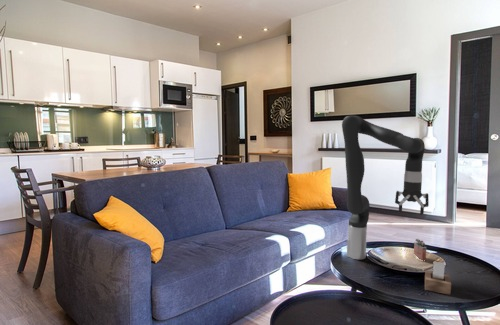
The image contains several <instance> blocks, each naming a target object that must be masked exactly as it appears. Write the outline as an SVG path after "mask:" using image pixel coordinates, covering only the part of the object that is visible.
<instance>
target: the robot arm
mask: <svg viewBox="0 0 500 325" xmlns="http://www.w3.org/2000/svg"><path fill="white" fill-rule="evenodd" d="M341 129H342V133H343V134H342V135H343V136H342V137H343V140H344V154H345V171H346V186H347V187H346V189H347V190H346V191H347V192H346V208H347V210H348V211H349V213H350V214H351V216H350V217H349V219H348V234H347V235H348V236H347V240H346V241H347V242H346V257H348V258H350V259H353V260H364V259H366V255H367V237H368V236H367V231H368V222H369V217H370V206H371V205H370V201H369V198H368V197H367V196H366V195H363V194H362V183H363V180H364V175H365V157H364V155H363V151H362V149H361V146H360V142H359V134H361V135H364V136H365V135H366V136H370V137H371V138H374V139H376V140H377V141H379V142H382V143H384V144H386V145H390V146H392V147H396V148H398V149H400V150H402V151H403V152H406V153H408V154H407V158H406V160H405V164H404V165H405V168H404V174H403V175H404V176H403V191H399V190H396V192H395V199H394V200H395V201H394V203H395V204H396V205H398V212H399V213H400V214H402V213H403V204H404V203H405V202H413V203H416V202H417V203H418V205H419V206H420V209H419V210H420V211H419V212H420V213H419V216H422V215H424V212H425V211H424V210H425V208H428V207H429V202H430V201H429V193H422V183H423V173H422V172H423V158H424V153H425V142H424V141H423V140H422V138H419V137H411V136H407V135H405V134H403V133H402V132H399V131H396V130H393V129H389V128H387V127H383V126H381V125H376V124H374V123H372V122H369V121H367V120H366V119H364V118H362V117H360V116H359V115H347V116H345V117H344V118H343V120H342V122H341ZM401 195H402V196H403V198H402V199H401V200H400V201H399V199H400V198H399V197H401ZM422 197H423V198H424V199H425V203H423V201H422V200H421V198H422Z"/></svg>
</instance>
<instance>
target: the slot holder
mask: <svg viewBox="0 0 500 325" xmlns="http://www.w3.org/2000/svg"><path fill="white" fill-rule="evenodd" d="M432 276H433V271H429V270H426V269H425V270H424V290H425V291H429V292H430V291H431V292H435V293H441V294H444V295H449V296H451V294H452V293H451V291H452V281H451V276H450V274H447V273H444V281H442V280H437V279H432Z"/></svg>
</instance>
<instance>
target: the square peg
mask: <svg viewBox="0 0 500 325" xmlns="http://www.w3.org/2000/svg"><path fill="white" fill-rule="evenodd" d="M445 267H446V266H445V262H439V261H436V260H435V261H433V265H432V272H433V276H432V279H437V280H442V281H444V274H445Z"/></svg>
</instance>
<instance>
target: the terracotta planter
mask: <svg viewBox="0 0 500 325" xmlns="http://www.w3.org/2000/svg"><path fill="white" fill-rule="evenodd" d="M425 244H426V243H425V242H424V240H420V239H419V238H415V242H413V246H414V247H413V254H415V255H416V256H417V257H418V258H419V259H421V260H423V261H424V260H426V261H427V259H426V258H427V249H428V247H427V246H426V245H425Z"/></svg>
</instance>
